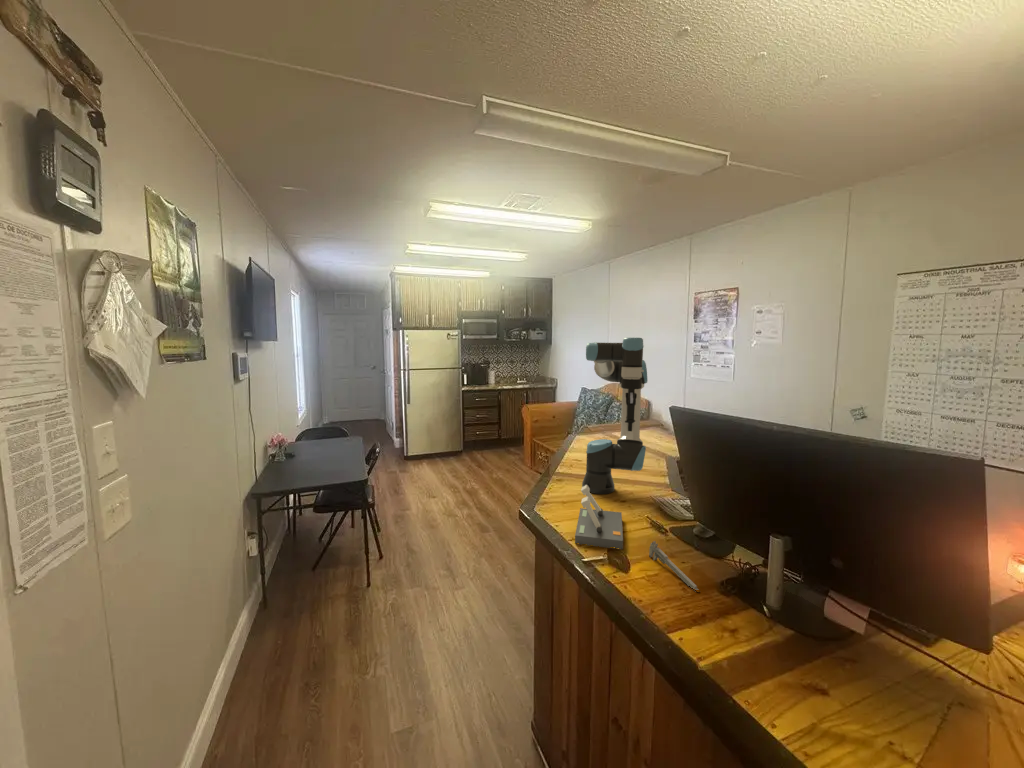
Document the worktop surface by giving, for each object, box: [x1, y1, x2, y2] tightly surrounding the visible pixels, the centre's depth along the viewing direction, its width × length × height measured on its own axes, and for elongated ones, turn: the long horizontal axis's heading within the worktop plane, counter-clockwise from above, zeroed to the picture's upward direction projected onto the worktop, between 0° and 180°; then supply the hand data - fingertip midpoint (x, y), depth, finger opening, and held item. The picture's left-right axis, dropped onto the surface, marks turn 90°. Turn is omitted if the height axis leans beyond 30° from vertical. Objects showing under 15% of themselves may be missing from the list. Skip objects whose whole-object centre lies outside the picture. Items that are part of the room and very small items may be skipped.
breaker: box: [580, 485, 604, 517], centre depth 158 cm, size 4×2×12 cm
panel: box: [574, 507, 624, 550], centre depth 151 cm, size 24×16×3 cm, turn 166°
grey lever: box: [580, 496, 602, 533], centre depth 144 cm, size 4×2×12 cm, turn 166°
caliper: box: [648, 540, 700, 591], centre depth 123 cm, size 20×1×6 cm, turn 20°
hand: (629, 438), depth 158 cm, fingers closed
